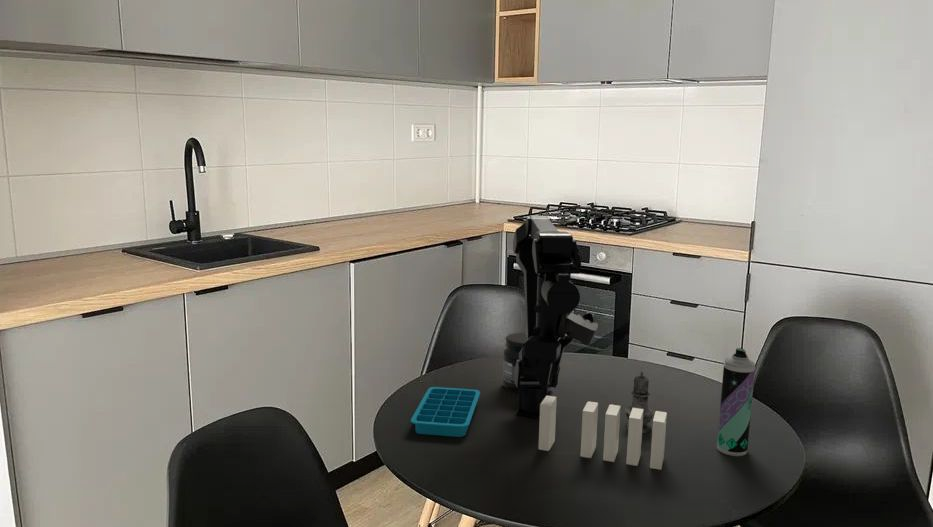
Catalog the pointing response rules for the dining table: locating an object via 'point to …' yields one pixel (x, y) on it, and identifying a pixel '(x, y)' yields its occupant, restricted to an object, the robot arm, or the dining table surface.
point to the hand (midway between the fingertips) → (549, 380)
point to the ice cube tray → (445, 411)
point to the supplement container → (511, 359)
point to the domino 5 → (658, 440)
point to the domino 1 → (547, 423)
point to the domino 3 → (611, 433)
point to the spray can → (736, 404)
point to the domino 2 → (589, 429)
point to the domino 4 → (634, 436)
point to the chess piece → (641, 401)
